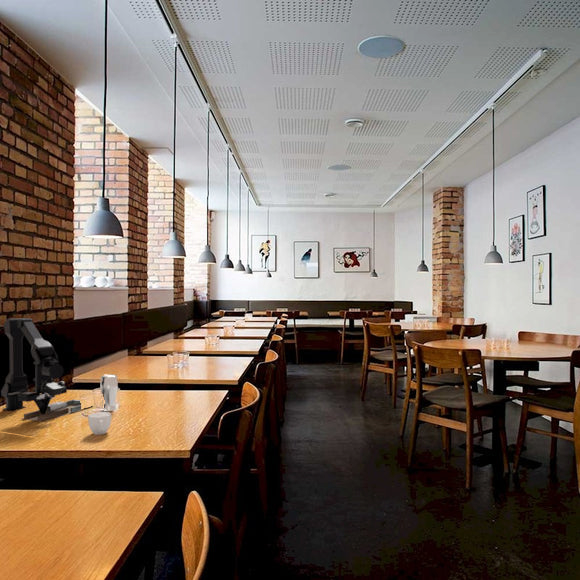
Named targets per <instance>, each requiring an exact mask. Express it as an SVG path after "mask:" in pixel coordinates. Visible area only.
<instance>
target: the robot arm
mask: <svg viewBox="0 0 580 580" xmlns="http://www.w3.org/2000/svg"><path fill="white" fill-rule="evenodd" d="M3 328H4V333H5V335H6V336H7V338H8V340H9V373H8V374H7V376H6V377H5V383H4V385H3V387H2V389H1V390H0V393H1V394H0V395H1V397H4V398H5V407H4V408H2V410H3V411H8V412H15V411H18V410H22V409H25V408H27V407H26V406H24V402H27V403H30V402H34V403H35V405H36V406H37V408H38V410H40V412H41V414H45V412H46V410H47V407H48V404H50V402H51V400H52V399H54V398H56V396H60V395H62V394H66V393H68V392H67V391H68V389H67V387H66V382H65V381H63V380H61V381H58V382H55V379H60V378H61V377H62V376H63V374H64V367H63V366H62V365H61V364H60V363H59V355H58V354H57V352H56V350H55V348H54V346H53V345H52V344H51V343H50V342H49V341H48V340H45V339H44V338H43V337H42V335H41V334H40V332H39V330H38V329H37V327H36V326H35V324H34V321H33V319H32V318H30V317H27V318H26V317H25V318H23V317H18V318H17V317H15V318H7V319H6V321H4V322H3ZM24 337H25V338H26V340H27V341H28V344H30V346H31V349H30V353H31V357H32V358H33V359H34V361H33V365H35V367H34V368H35V371H34V372H35V373H34V374H35V376H34V378H33V379H32V381H33V382H34V383H35V384H34V385H35V387H34V388H33V389H32V392H31V391H28V390H29V381H28V380H29V379H28V378H29V377H28V375H27V374H25V373H24V370H23V338H24Z"/></svg>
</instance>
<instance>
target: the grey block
mask: <svg viewBox="0 0 580 580" xmlns="http://www.w3.org/2000/svg"><path fill="white" fill-rule="evenodd" d="M51 404H59V410H60V409H64V408H66V401H57V402H52V403H51Z"/></svg>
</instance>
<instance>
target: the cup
mask: <svg viewBox="0 0 580 580" xmlns="http://www.w3.org/2000/svg"><path fill="white" fill-rule="evenodd" d="M87 416H88V417H87V418H88V426H89V429H90V431H91V432H92V434H93V435H96V436H100V435H105V434H106V433H107V432H108V430H109V428H110V426H111V423H112V412H110V411H101V412H100V411H99V412H98V411H97V412H93V413H90V414H89V415H87Z"/></svg>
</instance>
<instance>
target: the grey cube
mask: <svg viewBox="0 0 580 580" xmlns="http://www.w3.org/2000/svg"><path fill="white" fill-rule="evenodd" d="M57 410H59V404H52V403H49V404H48V407H47V410H46V412H45V414H47V413H50V412H53V411H57Z"/></svg>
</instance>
